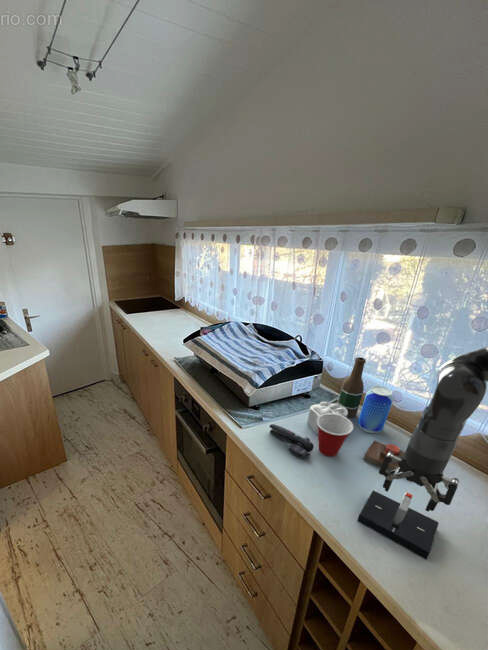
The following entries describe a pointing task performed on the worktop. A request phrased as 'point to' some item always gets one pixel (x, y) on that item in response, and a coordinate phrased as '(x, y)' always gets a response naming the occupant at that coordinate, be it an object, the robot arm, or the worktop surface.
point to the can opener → (293, 441)
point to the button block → (380, 455)
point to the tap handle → (402, 510)
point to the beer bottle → (353, 389)
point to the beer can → (375, 409)
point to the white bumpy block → (323, 409)
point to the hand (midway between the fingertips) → (406, 498)
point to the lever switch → (412, 531)
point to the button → (392, 449)
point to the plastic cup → (332, 433)
